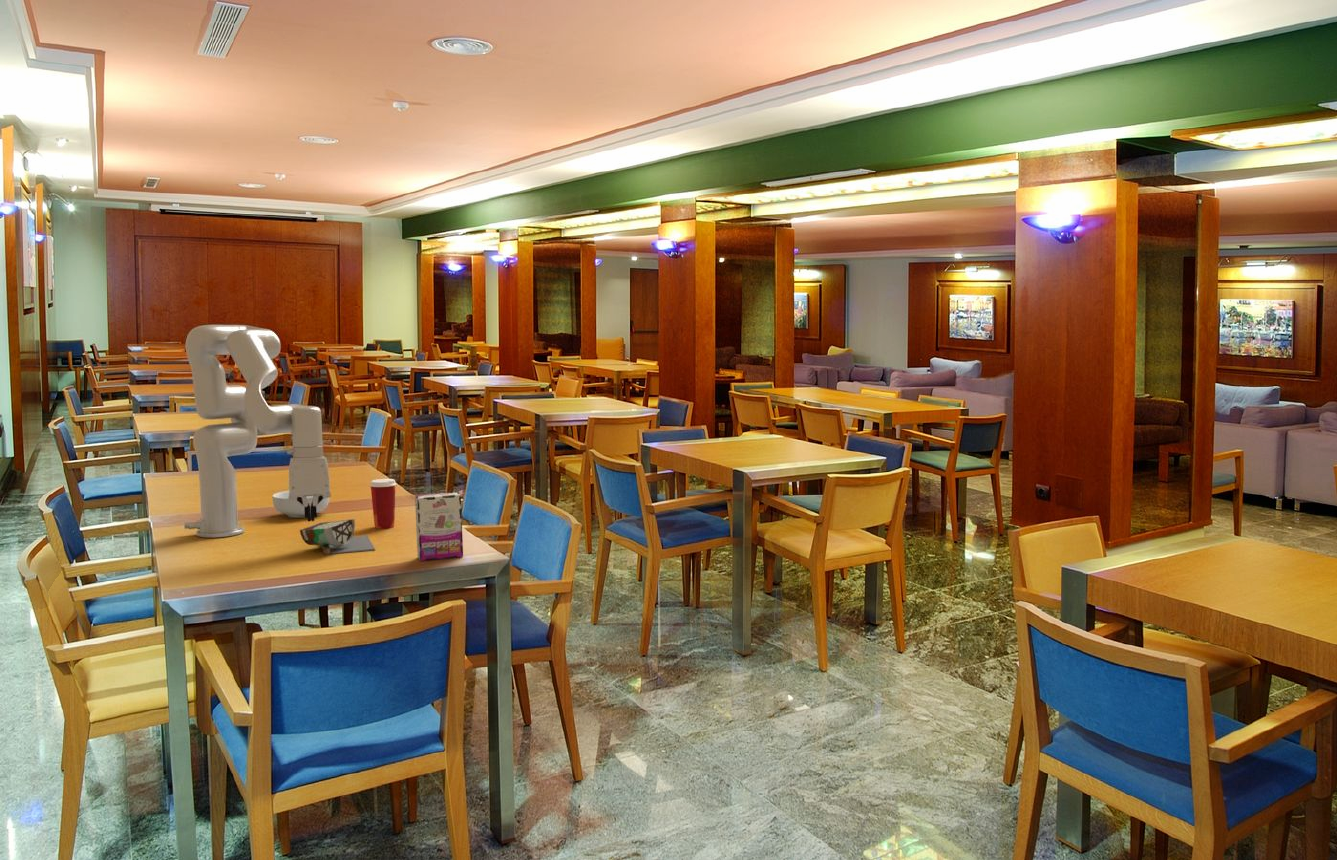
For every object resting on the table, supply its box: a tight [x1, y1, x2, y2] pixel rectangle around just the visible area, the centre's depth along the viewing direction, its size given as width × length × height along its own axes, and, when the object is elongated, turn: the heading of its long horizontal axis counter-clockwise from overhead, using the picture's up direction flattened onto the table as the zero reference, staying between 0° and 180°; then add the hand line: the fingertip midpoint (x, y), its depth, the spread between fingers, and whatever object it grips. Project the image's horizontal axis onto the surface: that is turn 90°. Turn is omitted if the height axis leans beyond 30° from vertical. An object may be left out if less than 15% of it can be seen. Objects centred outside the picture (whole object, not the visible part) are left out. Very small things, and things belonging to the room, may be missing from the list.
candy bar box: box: [414, 492, 464, 562], centre depth 251 cm, size 11×5×16 cm, turn 114°
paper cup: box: [369, 478, 397, 530], centre depth 290 cm, size 8×8×14 cm
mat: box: [329, 535, 376, 555], centre depth 266 cm, size 11×18×1 cm, turn 23°
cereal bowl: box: [271, 490, 331, 519], centre depth 308 cm, size 17×17×7 cm
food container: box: [299, 518, 356, 547], centre depth 260 cm, size 12×6×10 cm
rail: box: [320, 545, 331, 556], centre depth 263 cm, size 2×18×2 cm, turn 23°
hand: (310, 520), depth 261 cm, fingers closed
